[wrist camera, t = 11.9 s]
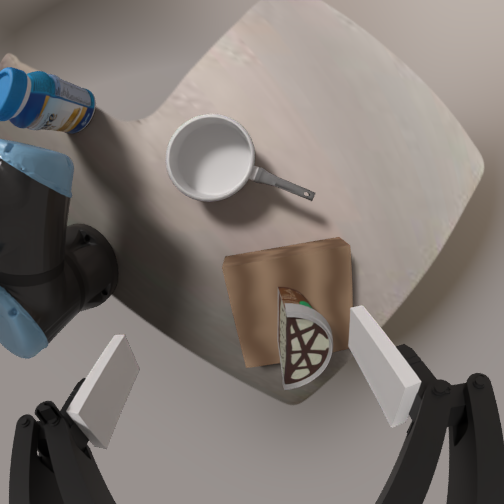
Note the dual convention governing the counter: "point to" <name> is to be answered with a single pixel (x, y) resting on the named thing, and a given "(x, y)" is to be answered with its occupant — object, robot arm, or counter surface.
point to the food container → (301, 339)
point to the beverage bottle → (44, 101)
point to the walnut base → (292, 276)
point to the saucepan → (217, 160)
